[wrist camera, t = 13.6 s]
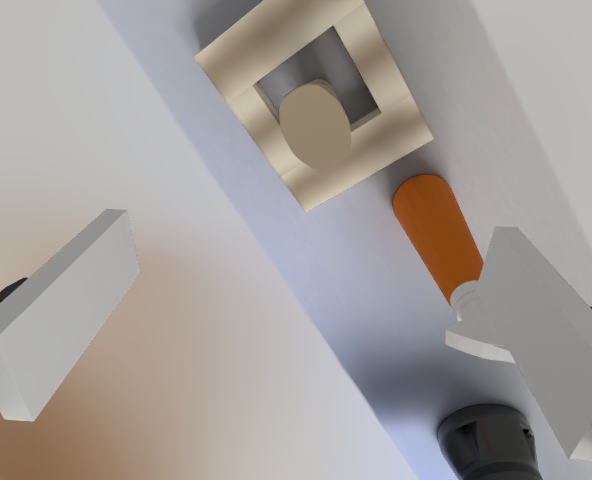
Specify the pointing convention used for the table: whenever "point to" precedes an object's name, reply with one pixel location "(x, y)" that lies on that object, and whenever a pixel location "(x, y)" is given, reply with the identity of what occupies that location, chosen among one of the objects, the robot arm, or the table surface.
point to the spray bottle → (450, 262)
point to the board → (282, 45)
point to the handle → (315, 125)
